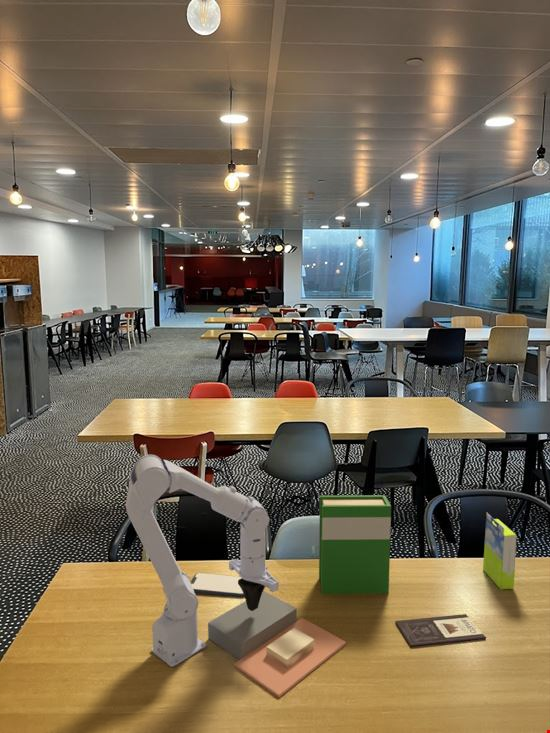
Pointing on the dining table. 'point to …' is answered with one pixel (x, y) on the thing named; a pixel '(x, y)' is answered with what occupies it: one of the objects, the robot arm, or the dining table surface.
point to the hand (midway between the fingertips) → (253, 608)
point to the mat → (285, 678)
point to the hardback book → (354, 544)
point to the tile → (290, 647)
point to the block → (251, 625)
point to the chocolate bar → (439, 630)
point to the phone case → (217, 585)
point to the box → (499, 553)
